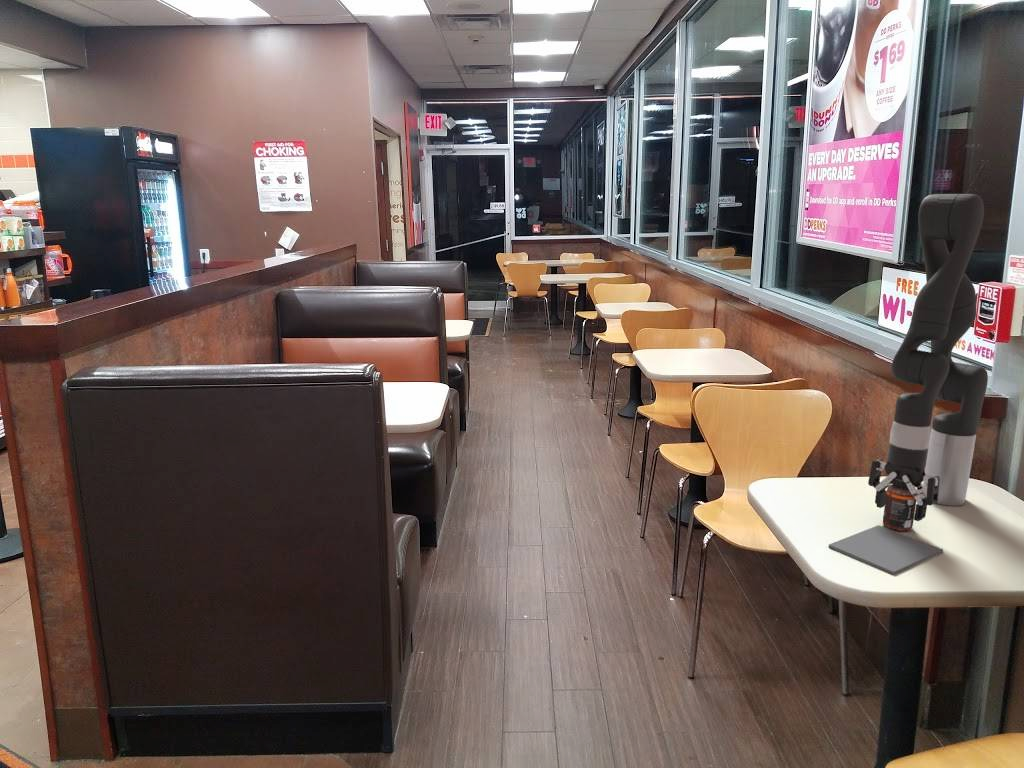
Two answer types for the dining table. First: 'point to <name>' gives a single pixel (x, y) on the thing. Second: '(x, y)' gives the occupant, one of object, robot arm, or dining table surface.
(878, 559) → the mat
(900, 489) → the supplement bottle
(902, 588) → the dining table surface
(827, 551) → the dining table surface
